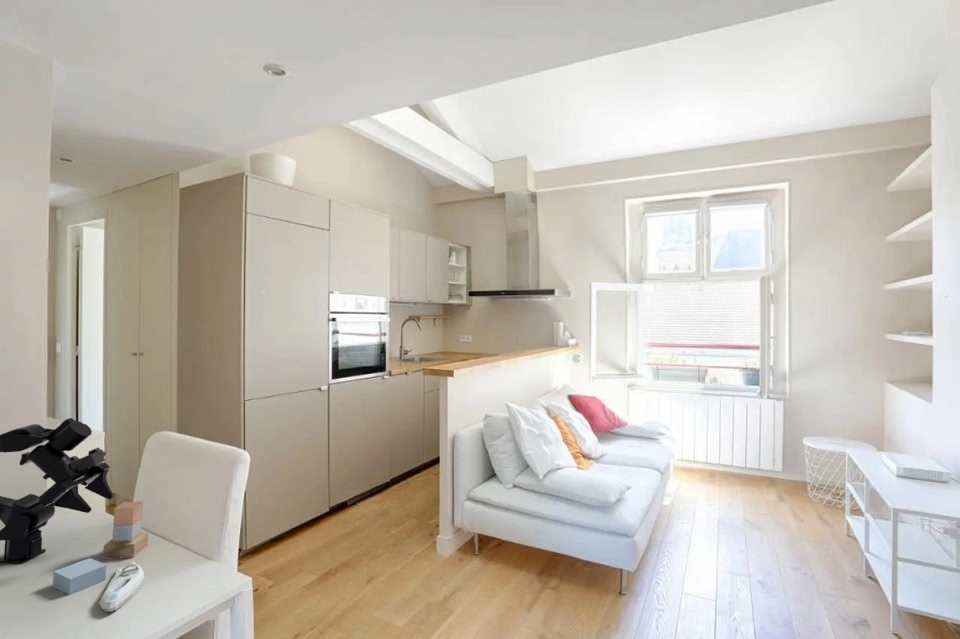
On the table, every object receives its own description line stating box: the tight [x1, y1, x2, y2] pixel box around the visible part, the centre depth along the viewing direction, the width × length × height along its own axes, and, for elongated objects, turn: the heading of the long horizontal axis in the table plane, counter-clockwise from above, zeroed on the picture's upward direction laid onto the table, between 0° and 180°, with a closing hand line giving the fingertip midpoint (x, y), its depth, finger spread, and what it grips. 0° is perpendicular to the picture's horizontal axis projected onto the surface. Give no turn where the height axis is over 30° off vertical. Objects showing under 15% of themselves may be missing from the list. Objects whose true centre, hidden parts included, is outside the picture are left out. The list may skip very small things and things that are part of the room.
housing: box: [111, 500, 144, 543], centre depth 121 cm, size 4×4×9 cm
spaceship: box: [98, 560, 145, 613], centre depth 105 cm, size 23×7×4 cm, turn 28°
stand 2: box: [102, 531, 149, 559], centre depth 121 cm, size 7×7×4 cm
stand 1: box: [52, 557, 107, 596], centre depth 106 cm, size 7×7×4 cm
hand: (101, 504), depth 120 cm, fingers open, 9 cm apart
